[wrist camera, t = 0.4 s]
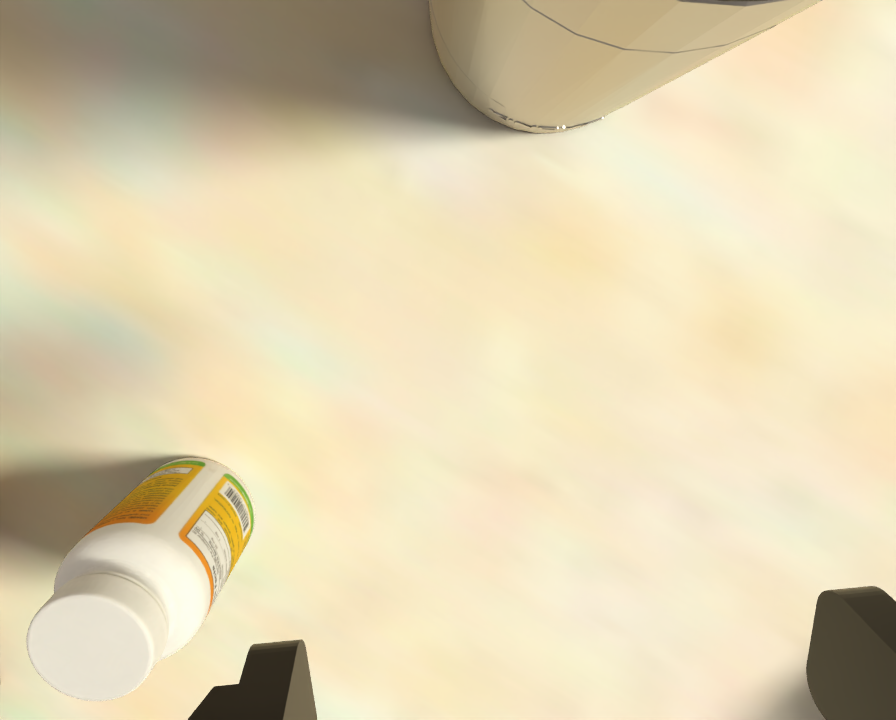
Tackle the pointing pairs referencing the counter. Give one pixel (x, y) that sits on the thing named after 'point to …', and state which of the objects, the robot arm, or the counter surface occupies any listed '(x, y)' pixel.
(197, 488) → the supplement bottle
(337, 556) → the counter surface
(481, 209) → the counter surface
